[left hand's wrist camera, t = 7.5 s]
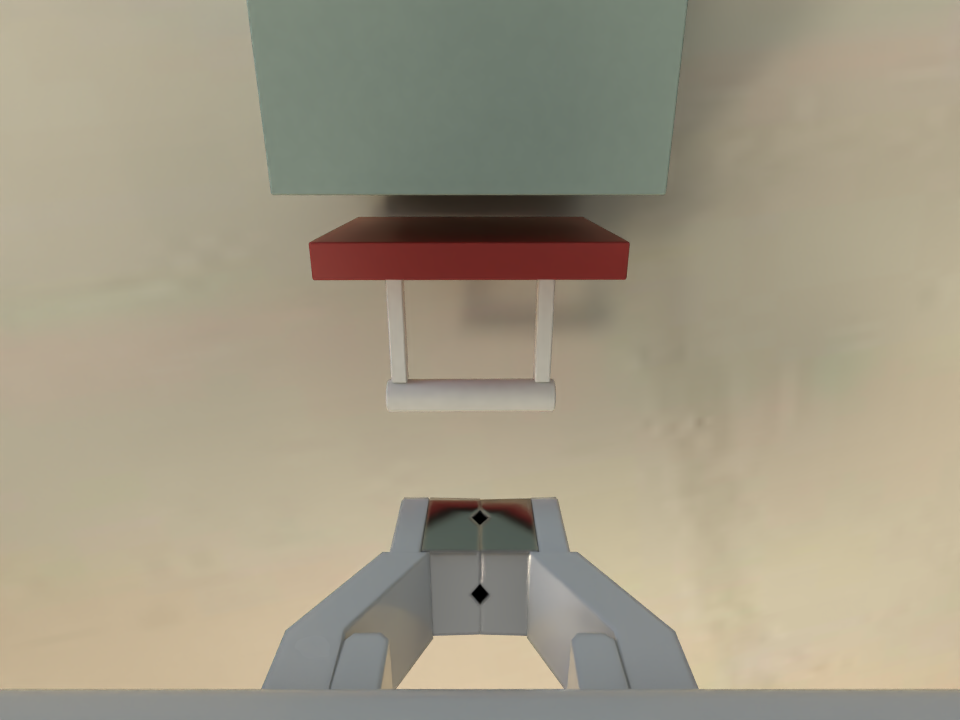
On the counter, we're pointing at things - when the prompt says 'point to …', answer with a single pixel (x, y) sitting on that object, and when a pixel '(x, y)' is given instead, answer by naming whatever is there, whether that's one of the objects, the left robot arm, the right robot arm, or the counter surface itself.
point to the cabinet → (467, 95)
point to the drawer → (469, 256)
